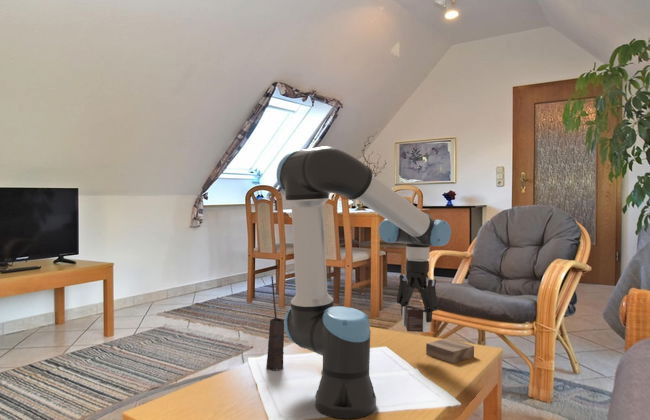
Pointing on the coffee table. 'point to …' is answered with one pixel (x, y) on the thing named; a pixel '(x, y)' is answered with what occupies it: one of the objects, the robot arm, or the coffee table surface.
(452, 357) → the walnut block
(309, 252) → the robot arm
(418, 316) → the box
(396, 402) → the coffee table surface
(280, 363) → the butter churn
